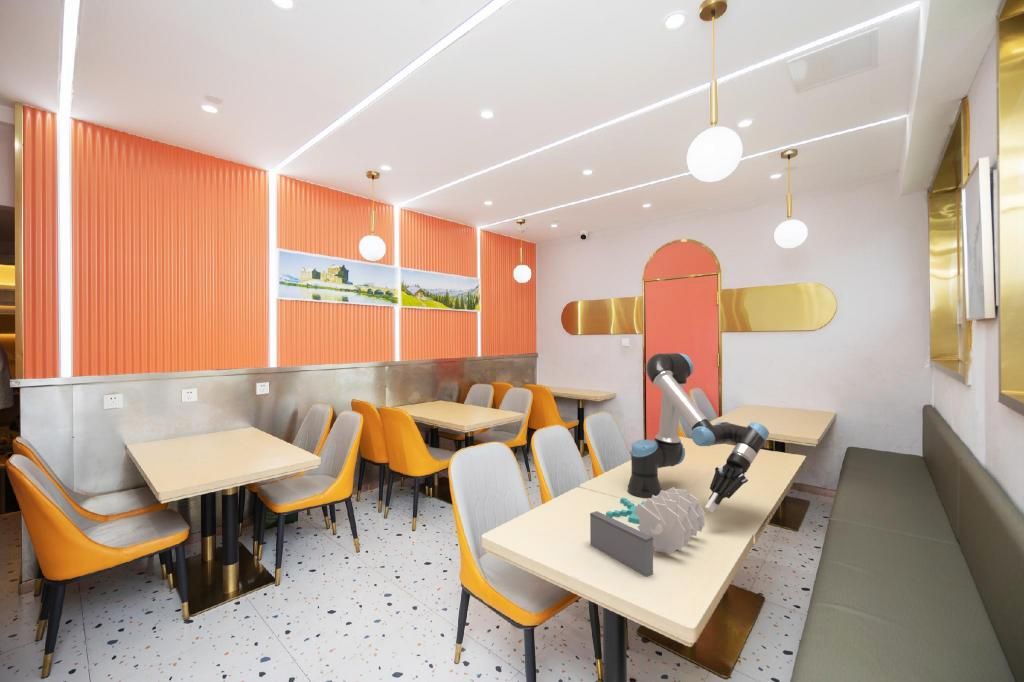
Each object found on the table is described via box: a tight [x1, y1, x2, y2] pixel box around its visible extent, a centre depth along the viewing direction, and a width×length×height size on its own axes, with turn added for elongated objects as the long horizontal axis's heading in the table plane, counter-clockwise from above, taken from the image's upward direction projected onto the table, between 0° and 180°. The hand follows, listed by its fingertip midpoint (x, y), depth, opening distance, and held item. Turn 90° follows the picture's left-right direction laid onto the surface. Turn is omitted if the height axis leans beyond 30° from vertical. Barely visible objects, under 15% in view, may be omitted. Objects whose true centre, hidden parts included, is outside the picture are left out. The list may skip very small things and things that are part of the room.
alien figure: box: [605, 497, 646, 525], centre depth 174 cm, size 20×2×20 cm
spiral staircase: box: [634, 486, 706, 556], centre depth 148 cm, size 18×18×25 cm
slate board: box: [589, 511, 654, 577], centre depth 138 cm, size 24×3×11 cm, turn 32°
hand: (708, 509), depth 156 cm, fingers closed
